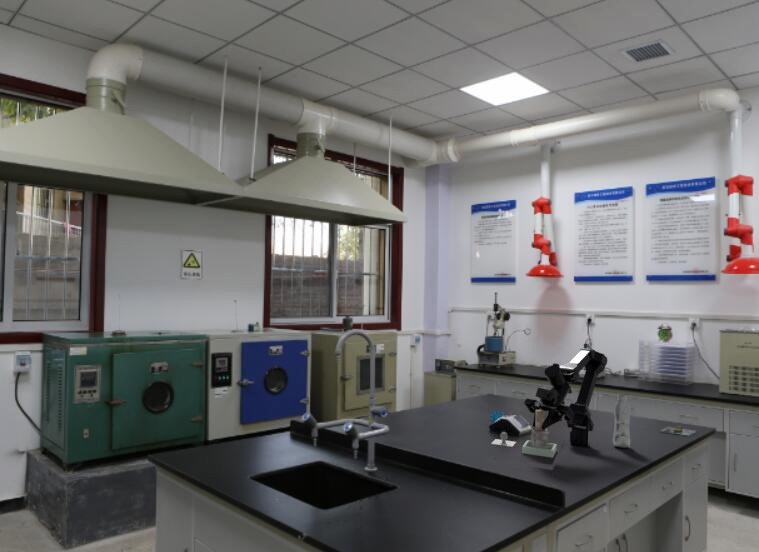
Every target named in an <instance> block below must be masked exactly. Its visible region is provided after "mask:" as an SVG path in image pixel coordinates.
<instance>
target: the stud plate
mask: <svg viewBox="0 0 759 552" xmlns="http://www.w3.org/2000/svg"><path fill="white" fill-rule="evenodd" d="M508 436H509V435H508V433H507V432H505V431H502V432H501V433H500V436H499V437H500V439H499V438H498V439H497V438H495V439H494V440H493V441H492V442H491V445H498V446H504V447H510V448H511V447H512V448H513V446H514V445H515V444H516V443H517V441H511V440H508Z"/></svg>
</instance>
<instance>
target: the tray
mask: <svg viewBox="0 0 759 552" xmlns="http://www.w3.org/2000/svg"><path fill="white" fill-rule="evenodd" d="M557 448H558V444H557V443H550V442H549V447H548V446H534V445H533V444H532V442H531V440H526V441H525V442H524V444H523V445H522V449H521V453H522V454H526V455H531V456H539V457H545V458H546V457H547V458H554V457H555V455H556V453H557Z"/></svg>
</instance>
